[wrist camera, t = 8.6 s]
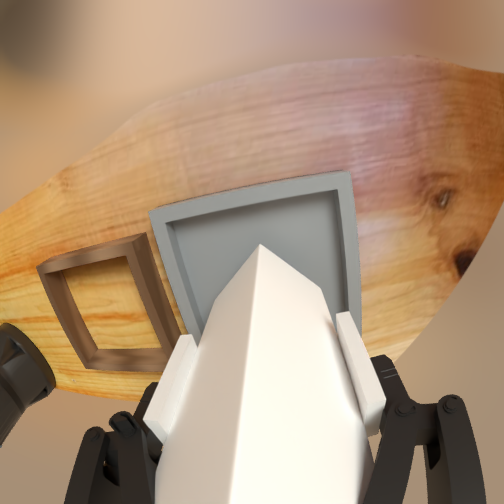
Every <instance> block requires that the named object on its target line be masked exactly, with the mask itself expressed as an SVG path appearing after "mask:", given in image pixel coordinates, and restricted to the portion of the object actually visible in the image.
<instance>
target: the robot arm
mask: <svg viewBox="0 0 504 504" xmlns="http://www.w3.org/2000/svg"><path fill="white" fill-rule="evenodd" d="M336 323H337V337H338V340H339V343H340V346H341V349H342V352H343V355H344V358H345V362H346V365H347V368H348V371H349V374H350V378H351V381H352V384H353V388H354V391H355V395H356V398H357V402H358V405H359V409H360V412H361V416H362V419H363V423H364V426H365V429H366V433H367V437H369V436H373V435H376V434H378V432H379V429H380V432H381V435H382V438H381V441H380V444H379V448H378V452H377V456H376V460H375V463H374V469H373V472H372V476H371V479H370V482H369V486H368V489H367V492H366V495H365V498H364V501H363V504H402V502H403V499H404V495H405V491H406V487H407V483H408V479H409V474H410V470H411V465H412V459H413V454H414V448H415V446H416V445H423V450H424V458H425V467H426V478H427V492H428V504H486V495H485V488H484V481H483V475H482V470H481V465H480V459H479V455H478V450H477V446H476V442H475V438H474V434H473V430H472V427H471V423H470V420H469V416H468V413H467V410H466V407H465V404H464V402H463V400H462V398H460V397H459V396H457V395H453V394H452V395H446V396H444V397H442V398H441V399H440V400H439V402H438V403H433V404H419V403H416V402H415V401H414V400H412V399H410V397H409V396H408V394H407V391H406V390H405V387H404V385H403V383H402V381H401V379H400V377H399V375H398V373H397V370H396V369H395V366H394V364H393V362H392V360H391V359H389V358H388V357H387V356H386V355H380V356H376V357H372V358H369V355H368V353H367V351H366V348H365V346H364V344H363V341H362V339H361V337H360V334H359V332H358V330H357V328H356V325H355V323H354V321H353V319H352V317H351V314H350V312H349V311H347V312H342V313H337V314H336ZM196 351H197V346H196V343H195V341H194V338H193V336H192V334H188V335H180V337H179V339H178V342H177V344H176V346H175V348H174V350H173V352H172V355H171V357H170V359H169V361H168V363H167V366H166V368H165V370H164V372H163V374H162V377H161V379H160V381H159V382H152V383H151V384H150V385H149V386H148V387H147V388H146V390H145V392H144V394H143V397H142V398H141V400H140V402H139V405H138V407H137V409H136V411H135V413H134V415H133V416H132V415H131V414H130V413H129V412H126V411H121V412H118V413H116V414H114V415H113V416H112V417H111V418H110V420H109V425H110V426H111V427H112V428H113V430H114V431H112V432H105V431H104V430H103V429H102V428H100V427H92V428H90V429H88V430H87V431H86V433H85V434H84V437H83V440H82V443H81V446H80V449H79V452H78V455H77V458H76V461H75V465H74V468H73V471H72V475H71V479H70V482H69V486H68V490H67V493H66V497H65V501H64V504H155V475H156V470H157V466H158V463H159V460H160V457H161V454H162V451H161V449H162V446H164V445H165V442H166V439H167V436H168V433H169V430H170V427H171V424H172V421H173V418H174V415H175V412H176V409H177V406H178V403H179V400H180V397H181V394H182V392H183V389H184V386H185V383H186V380H187V377H188V374H189V371H190V368H191V366H192V363H193V360H194V357H195V354H196ZM54 387H55V378H54V375H53V373H52V371H51V369H50V367H49V365H48V363H47V362H46V360H45V358H44V357H43V356H42V354H41V353H40V351H39V350H38V349H37V348H36V346H35V345H34V344H33V343H32V342H31V341H30V340H29V338H28V337H27V336H26V335H25V334H23V333H22V332H21V331H20V330H19V329H18V328H16V327H15V326H13V325H11V324H9V323H3V324H2V325H0V448H1V447H2V444H3V442H4V441H5V439H6V437H7V436H8V434H9V433H10V431H11V430H12V428H13V427H14V426H15V424H16V422H17V421H18V420H19V418H20V417H21V415H22V414H23V413H24V411H25V410H26V409H27V408H28V407H29V406H31V405H33V404H35V403H36V402H38V401H40V400H42V399H43V398H45V397H47V396H48V395H49V394H50V393H51V392H52V390H53V389H54ZM104 461H105V463H104Z"/></svg>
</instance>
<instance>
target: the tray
mask: <svg viewBox="0 0 504 504" xmlns="http://www.w3.org/2000/svg"><path fill="white" fill-rule="evenodd" d="M148 213H149V217H150V220H151V224H152V227H153V231H154V234H155V238H156V241H157V244H158V248H159V251H160V254H161V257H162V261H163V264H164V267H165V270H166V273H167V276H168V279H169V282H170V285H171V288H172V291H173V294H174V296H175V299H176V302H177V305H178V308H179V310H180V313H181V316H182V318H183V321H184V324H185V326H186V329H187V331H188V334H192V336H193V338H194V341H195V343H196V346H197V348H198V345H199V343H200V340H201V337H202V334H203V331H204V329H205V326H206V323H207V320H208V318H209V315H210V312H211V309H212V306H213V304H214V301H215V299H216V298H217V297H218V295H219V294H220V293H221V292H222V290H223V289H224V288H225V287H226V285H227V284H228V283H229V282H230V280H231V279H232V278H233V277H234V275H235V274H236V273H237V272H238V270H239V269H240V268H241V267H242V265H243V264H244V263H245V262H246V260H247V259H248V258H249V257H250V255H251V254H252V253H253V252H254V250H255V249H256V248H257V247H258V245H259V244H261V245H263V246H264V247H266V248H267V249H268V250H270V251H271V252H272V253H274V254H275V255H276V256H278V257H279V258H281V259H282V260H283V261H285V262H286V263H287V264H289V265H290V266H291V267H293V268H294V269H295V270H297V271H298V272H299V273H301V274H302V275H304V276H305V277H306V278H308V279H309V280H310V281H312V282H313V283H314V284H316V285H317V286H318V287H320V288H321V290H322V293H323V296H324V299H325V301H326V304H327V307H328V310H329V313H330V316H331V319H332V322H333V324H334V327H335V330H336V333H337V323H336V314H337V313H342V312H347V311H349V312H350V314H351V317H352V319H353V321H354V323H355V325H356V328H357V330H358V332H359V334H360V337H361V332H362V307H361V274H360V257H359V243H358V231H357V221H356V212H355V203H354V195H353V188H352V181H351V174H350V171H346V170H337V171H330V172H323V173H317V174H310V175H304V176H298V177H292V178H286V179H281V180H275V181H270V182H264V183H259V184H254V185H249V186H244V187H239V188H234V189H230V190H225V191H220V192H216V193H211V194H207V195H203V196H198V197H194V198H190V199H186V200H182V201H178V202H174V203H170V204H166V205H162V206H159V207H157V208H155V209H153V210H151V211H149V212H148Z"/></svg>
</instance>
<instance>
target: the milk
mask: <svg viewBox="0 0 504 504" xmlns="http://www.w3.org/2000/svg"><path fill="white" fill-rule="evenodd" d="M373 469H374V461H373V457H372V453H371V449H370V445H369V441H368V437H367V433H366V429H365V426H364V423H363V419H362V416H361V412H360V409H359V405H358V402H357V398H356V395H355V391H354V388H353V384H352V381H351V378H350V374H349V371H348V368H347V365H346V362H345V358H344V355H343V352H342V349H341V346H340V343H339V340H338V337H337V333H336V330H335V327H334V324H333V322H332V319H331V316H330V313H329V310H328V307H327V304H326V301H325V299H324V296H323V293H322V290H321V288H320V287H318V286H317V285H316V284H314V283H313V282H312V281H310V280H309V279H308V278H306V277H305V276H304V275H302V274H301V273H299V272H298V271H297V270H295V269H294V268H293V267H291V266H290V265H289V264H287V263H286V262H285V261H283V260H282V259H281V258H279V257H278V256H276V255H275V254H274V253H272V252H271V251H270V250H268V249H267V248H266V247H264V246H263V245H261V244H259V245H258V247H257V248H256V249H255V250H254V252H253V253H252V254H251V255H250V257H249V258H248V259H247V260H246V262H245V263H244V264H243V265H242V267H241V268H240V269H239V270H238V272H237V273H236V274H235V275H234V277H233V278H232V279H231V280H230V282H229V283H228V284H227V285H226V287H225V288H224V289H223V290H222V292H221V293H220V294H219V295H218V297H217V298H216V299H215V301H214V304H213V306H212V309H211V312H210V315H209V318H208V320H207V323H206V326H205V329H204V331H203V334H202V337H201V340H200V343H199V345H198V348H197V351H196V354H195V357H194V360H193V363H192V366H191V368H190V371H189V374H188V377H187V380H186V383H185V386H184V389H183V392H182V394H181V397H180V400H179V403H178V406H177V409H176V412H175V415H174V418H173V421H172V424H171V427H170V430H169V433H168V436H167V439H166V442H165V445H164V448H163V451H162V454H161V457H160V460H159V463H158V466H157V470H156V475H155V504H363V501H364V498H365V495H366V492H367V489H368V486H369V482H370V479H371V476H372V472H373Z"/></svg>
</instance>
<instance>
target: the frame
mask: <svg viewBox="0 0 504 504" xmlns="http://www.w3.org/2000/svg"><path fill="white" fill-rule="evenodd" d="M125 255H126V257H127V260H128V263H129V266H130V269H131V272H132V275H133V277H134V280H135V283H136V286H137V288H138V291H139V293H140V296H141V299H142V301H143V304H144V306H145V309H146V311H147V314H148V316H149V318H150V321H151V323H152V325H153V328H154V330H155V332H156V334H157V337H158V339H159V341H160V343H161V345H162V348H145V349H98V348H97V346H96V344H95V343H94V341H93V339H92V337H91V335H90V333H89V331H88V329H87V327H86V325H85V323H84V321H83V319H82V317H81V315H80V313H79V311H78V308H77V306H76V304H75V302H74V299H73V297H72V295H71V292H70V290H69V288H68V285H67V283H66V280H65V278H64V275H63V273H62V269H67V268H71V267H75V266H80V265H84V264H88V263H93V262H97V261H102V260H106V259H111V258H115V257H120V256H125ZM36 269H37V271H38V274H39V276H40V279H41V281H42V284H43V286H44V289H45V291H46V294H47V296H48V298H49V300H50V303H51V305H52V307H53V309H54V311H55V313H56V316H57V318H58V320H59V322H60V324H61V326H62V328H63V330H64V331H65V333H66V335H67V337H68V339H69V341H70V343H71V344H72V346H73V348H74V350H75V351H76V353H77V355H78V357H79V358H80V360H81V362H82V363H83V365H84V367H85V368H86V369H96V370H112V371H141V372H164V370H165V368H166V366H167V363H168V361H169V359H170V357H171V355H172V352H173V350H174V348H175V346H176V344H177V342H178V339H179V337H180V335H182V334H181V332H180V330H179V327H178V324H177V322H176V319H175V317H174V314H173V312H172V309H171V306H170V304H169V301H168V298H167V295H166V293H165V290H164V287H163V284H162V281H161V278H160V275H159V272H158V269H157V266H156V263H155V260H154V257H153V254H152V251H151V248H150V244H149V241H148V238H147V234H146V232H145V233H140V234H136V235H132V236H128V237H124V238H120V239H116V240H112V241H109V242H105V243H101V244H97V245H93V246H90V247H86V248H82V249H79V250H75V251H72V252H68V253H64V254H61V255H58V256H54V257H51V258H49V259H48V260H46V261H44V262H43V263H41V264H39V265H38V266H36Z"/></svg>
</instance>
